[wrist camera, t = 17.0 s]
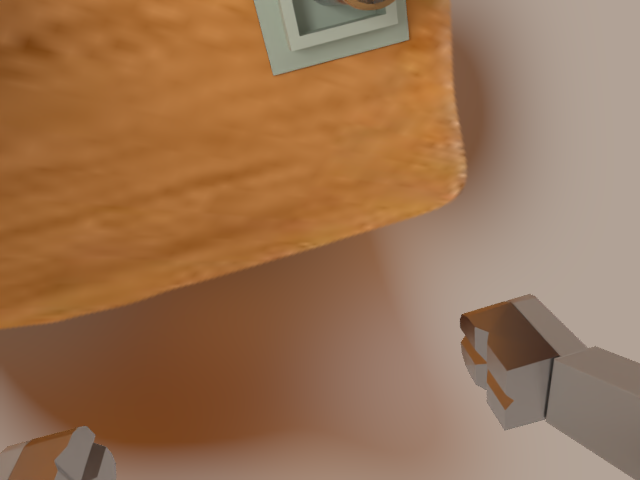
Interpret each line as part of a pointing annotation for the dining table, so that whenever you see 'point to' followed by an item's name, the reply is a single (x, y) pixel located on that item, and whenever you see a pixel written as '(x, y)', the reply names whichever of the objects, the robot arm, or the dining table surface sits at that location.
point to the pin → (358, 3)
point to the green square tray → (325, 31)
